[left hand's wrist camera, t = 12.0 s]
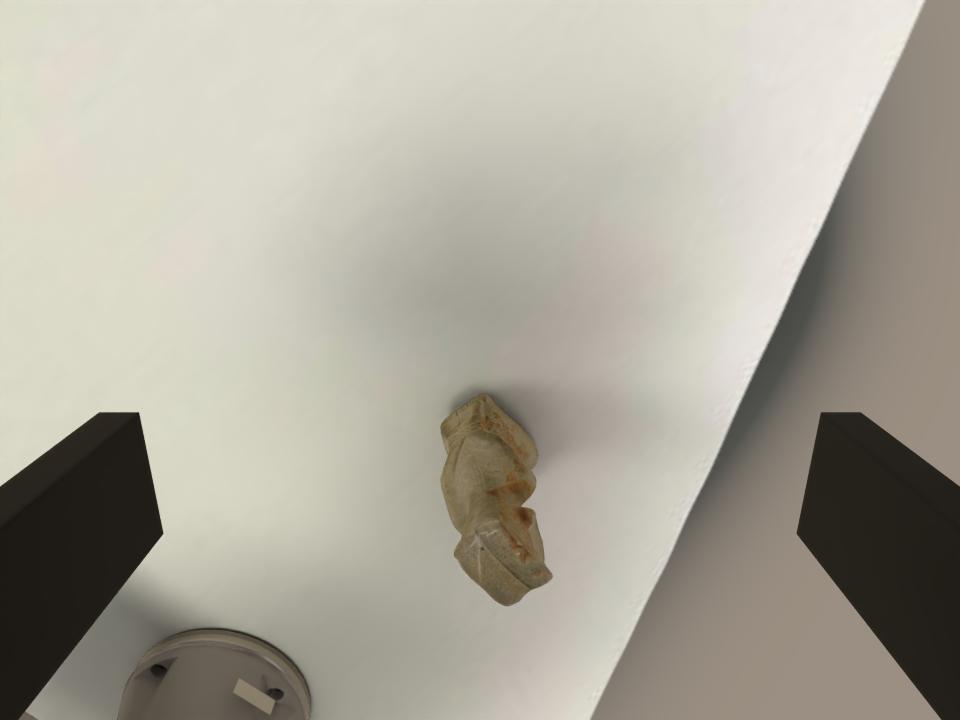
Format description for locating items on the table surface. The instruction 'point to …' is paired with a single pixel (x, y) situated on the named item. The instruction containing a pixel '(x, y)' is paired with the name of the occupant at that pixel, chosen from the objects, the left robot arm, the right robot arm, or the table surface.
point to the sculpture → (493, 500)
